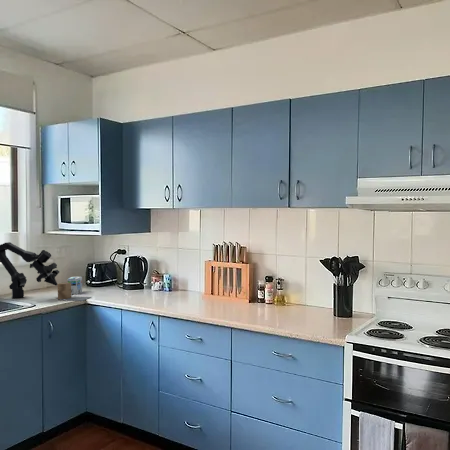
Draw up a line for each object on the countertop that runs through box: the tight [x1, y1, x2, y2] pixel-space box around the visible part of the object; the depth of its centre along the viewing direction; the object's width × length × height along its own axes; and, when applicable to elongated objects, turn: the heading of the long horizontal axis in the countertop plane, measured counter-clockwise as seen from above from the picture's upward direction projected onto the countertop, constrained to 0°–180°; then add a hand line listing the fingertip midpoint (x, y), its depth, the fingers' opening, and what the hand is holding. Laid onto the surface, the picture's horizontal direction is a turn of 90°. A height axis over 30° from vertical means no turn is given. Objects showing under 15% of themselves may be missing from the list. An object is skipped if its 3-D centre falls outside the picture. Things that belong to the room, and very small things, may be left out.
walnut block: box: [57, 282, 72, 301], centre depth 293 cm, size 6×6×10 cm
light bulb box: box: [67, 276, 83, 295], centre depth 314 cm, size 11×7×11 cm, turn 179°
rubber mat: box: [66, 296, 92, 302], centre depth 292 cm, size 12×12×1 cm
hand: (56, 285), depth 294 cm, fingers closed
